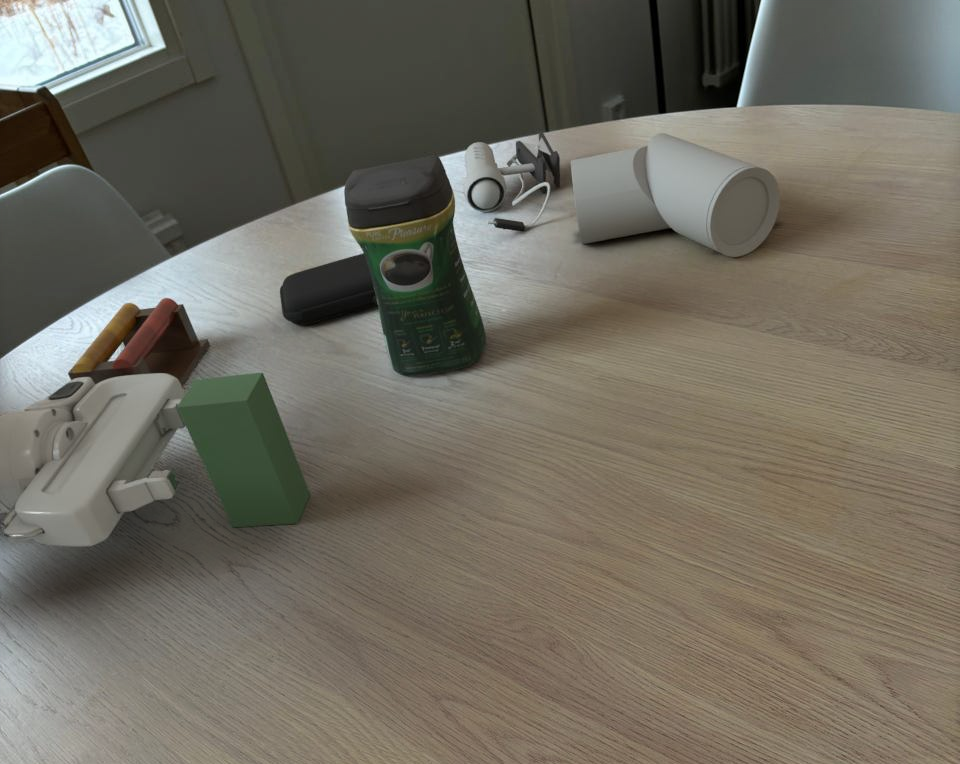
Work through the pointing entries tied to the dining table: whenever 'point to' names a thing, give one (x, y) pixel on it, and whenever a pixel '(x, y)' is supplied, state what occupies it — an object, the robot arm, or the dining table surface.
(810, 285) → the dining table surface
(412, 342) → the coffee jar
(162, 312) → the rod stand
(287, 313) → the carrying case
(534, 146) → the clip-on lamp
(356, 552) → the dining table surface
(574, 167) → the l-shaped cylinder
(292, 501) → the green bar
